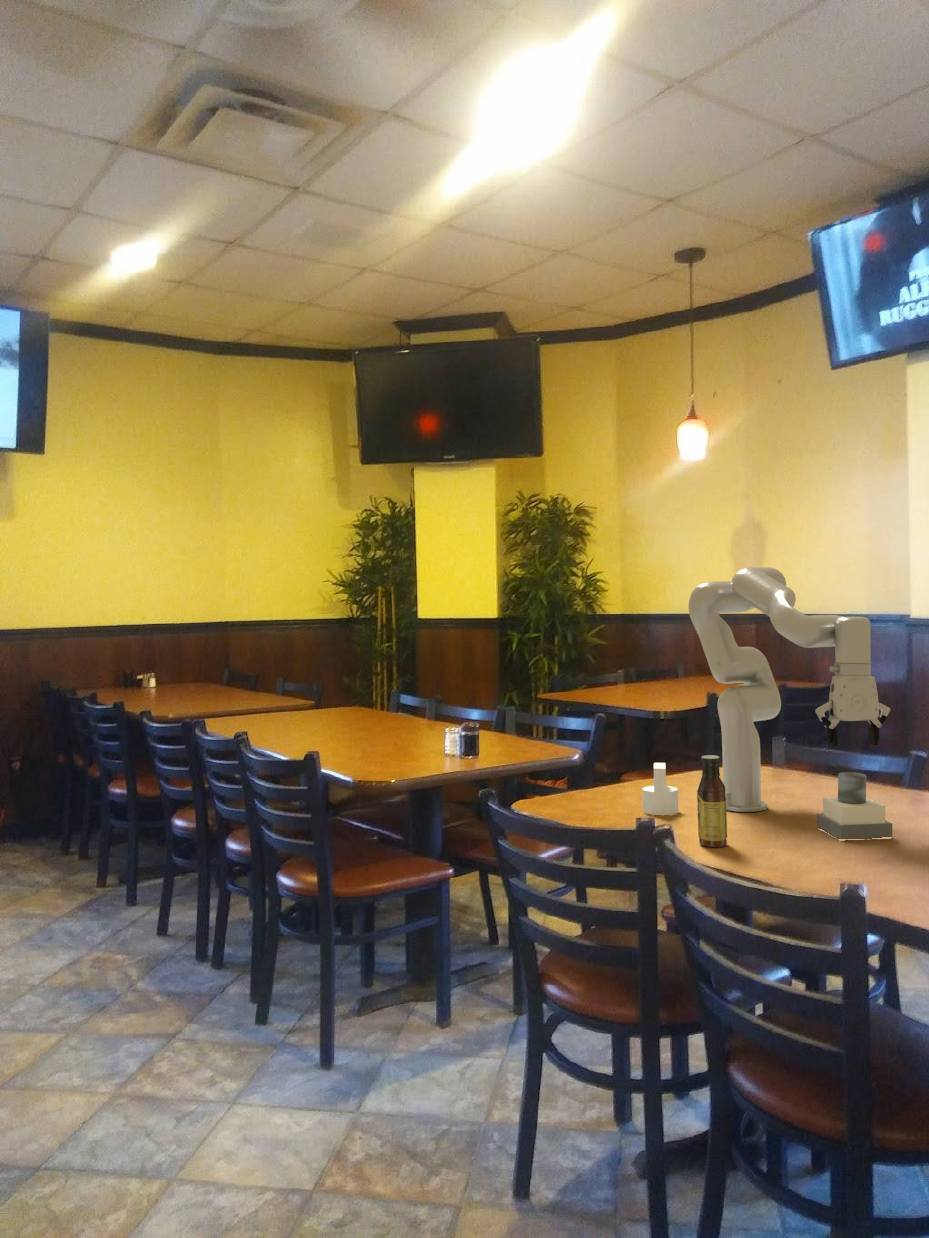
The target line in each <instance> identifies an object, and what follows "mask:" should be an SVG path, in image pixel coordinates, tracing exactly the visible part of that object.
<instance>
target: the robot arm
mask: <svg viewBox="0 0 929 1238" xmlns="http://www.w3.org/2000/svg"><path fill="white" fill-rule="evenodd" d="M796 599H797V597H796V593H795V592H794V590H792V588H789V586H787V581H786V577H785V576H784V574H783V573H782V572H781V571H780V570H778V569H777V568H773V567H762V566H761V567H758V566H757V567H745V568H742V569H739V570H738V571H736V573H734V575H733V576H732V578H731V580H726V581H725V580H717V581H715V580H714V581H713V580H712V581H706V582H703V583H701V584H698V585H697V586H696V587H695V588H694V589H692V592H691V593H690V596H689V600H688V614H689V618H690V621H691V623H692V625H693V628H694V629H695V631H696V634H697V635H698V637H699V641H700V643H701V646H702V650H703V652H704V655H705V658H706V660H707V663H708V668H709V669H710V672H711V674H712V677H713V679H715V681H717V682H718V683H719V684H724V685H726V684H739V683H740V684H741V683H743V685H740V686H739V685H738V686H731V687H728V688H726V689H725V690H723V691H722V692H721V693H720V694H719V696H718V699H717V714H718V717H719V723H720V728H721V729H720V731H721V747H722V748H721V749H722V751H721V753H722V782H723V784H724V786H725V796H726V811H727V812H736V813H737V812H738V813H757V812H763V811H766V810H767V809H768V802H766V801H763V800H762V789H761V788H762V783H761V782H762V781H761V777H762V776H761V774H762V773H761V740H760V739H761V738H760V735H759V732H758V730H757V728H756V726H755V723H754V722H760V721H761V722H762V721H767V720H768V721H769V720H772V719H774V718H776V717H777V716H778V715H779V713H780V712H781V707H782V699H781V695H780V692H779V689H778V686H777V683H776V681H775V677H774V675H773V672H772V670H771V667H770V664H769V662H768V659H767V657H766V656H765V655H764V653H762V650H761V651H760V650H759V649H758V648H755V647H752V646H739V645H738V644H737V641H736V639H735V636H734V634H733V630H732V629H731V628H730V626H729V625H728V623H727V622H726V621H725V620H724V619H723V618H722V617H721V616H720V614H728V613H731V614H732V613H743V612H744V613H745V612H749V611H751V610H753V609H756V610H758V611H759V612H762V613H763V614H764V615H766V616H768V617H769V619H770V623H771V624H772V626H773V628H774V630H775V631H776V632H777V633H778V634H780V636H782V637H783V638H786V639H787V640H789V642H791V643H793V644H795V645H797V646H798V647H802V648H806V649H807V648H808V649H811V648H829V647H834V648H835V649H834V653H835V655H834V661H835V662H834V664H832V665H830V666H829V672H832V673H834V675H833V676H832V678H831V683H830V689H829V694H828V695H829V696H828V697H829V698H828V701H827V702H825V703H824V704H822V705H821V706H818V707H817V708H816V709H815V710H814V711H815V714H816V715H817V717H818V720H819V721H820V722H821V724H823V725H824V728H826V742H827V744H828V745H829V746H832V747H837V746H838V729H837V728H836V727H837V725H838V724H839V723H840V721H842V722H856V721H857V722H859V721H867V722H868V723H869V724H870V725H868V729H867V730H868V731H867V736H868V740H867V742H868V743H869V744H870V745H874V746H878V745H879V741H880V728H882V727H883V726H882V725H883V724H884V723H885V722H886V720H887V719H888V718H887V717H888V716H889V713H890V712H891V707H889V706H887V705H885V704H883V703H881V702H879V695H878V689H877V688H878V686H877V683H876V680H875V679H876V678H875V676H872V675H871V669H872V668H871V666H872V665H871V663H872V662H871V658H872V657H871V655H872V653H871V648H872V647H871V641H872V639H871V638H872V637H871V629H872V628H871V626H872V625H871V620H870V619H869V618H868V617H865V616H854V615H853V616H843V615H837V614H816V615H815V614H814V615H807V614H805V613H803V612H801V611H800V610H798V609H796V608H794V606H795V605H796ZM827 711H828V715H829V717H828V718H827V717H826V715H825V713H826V712H827Z"/></svg>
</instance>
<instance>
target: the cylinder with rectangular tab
mask: <svg viewBox="0 0 929 1238" xmlns="http://www.w3.org/2000/svg"><path fill="white" fill-rule="evenodd" d="M666 767H667V766H666V762H654V763H653V785H648V786H645V787H642V789H641V791H642V812H643V811H644V812H645V813H647V814H646V815H648V813H649V814H653V815H652V816H654V815H670V816H673V815H672V814H675V815H677V814H676V813H678V814H679V789H678V787H676V786H671V785H667V773H666V772H667V770H666V769H667V768H666ZM645 813H644V814H645Z"/></svg>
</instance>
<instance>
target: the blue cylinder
mask: <svg viewBox="0 0 929 1238" xmlns="http://www.w3.org/2000/svg"><path fill="white" fill-rule="evenodd" d="M837 777H838V778H837V797H838V801H840V802H843V803H848V804H864V803H866V797H867V775H866V774H864V773H861V772H860V773H859V772H854V771H853V772H849V771H844V772H839V773H838V776H837Z"/></svg>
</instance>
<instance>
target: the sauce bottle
mask: <svg viewBox="0 0 929 1238" xmlns="http://www.w3.org/2000/svg"><path fill="white" fill-rule="evenodd" d="M700 758H701V759H700V760H701V761H700V763H701V771H702V772H701V778H700V781H699V783H698V787H697V791H696V798H697V799H696V800H697V831H698V833H697V835H698V842H699V843H700V845H701V846H704V847H708V848H714V849H715V848H721V847H725V846H727V844H728V843H727V842H728V841H727V839H728V817H727V816H728V814H727V812H728V810H726V796H725V786H724V784H723V780H722V779H721V774H720V764H721V757H720V756H718V755H714V754H713V755H712V754H711V755H710V754H708V755H706V754H705V755H702V756H701V757H700Z"/></svg>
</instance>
